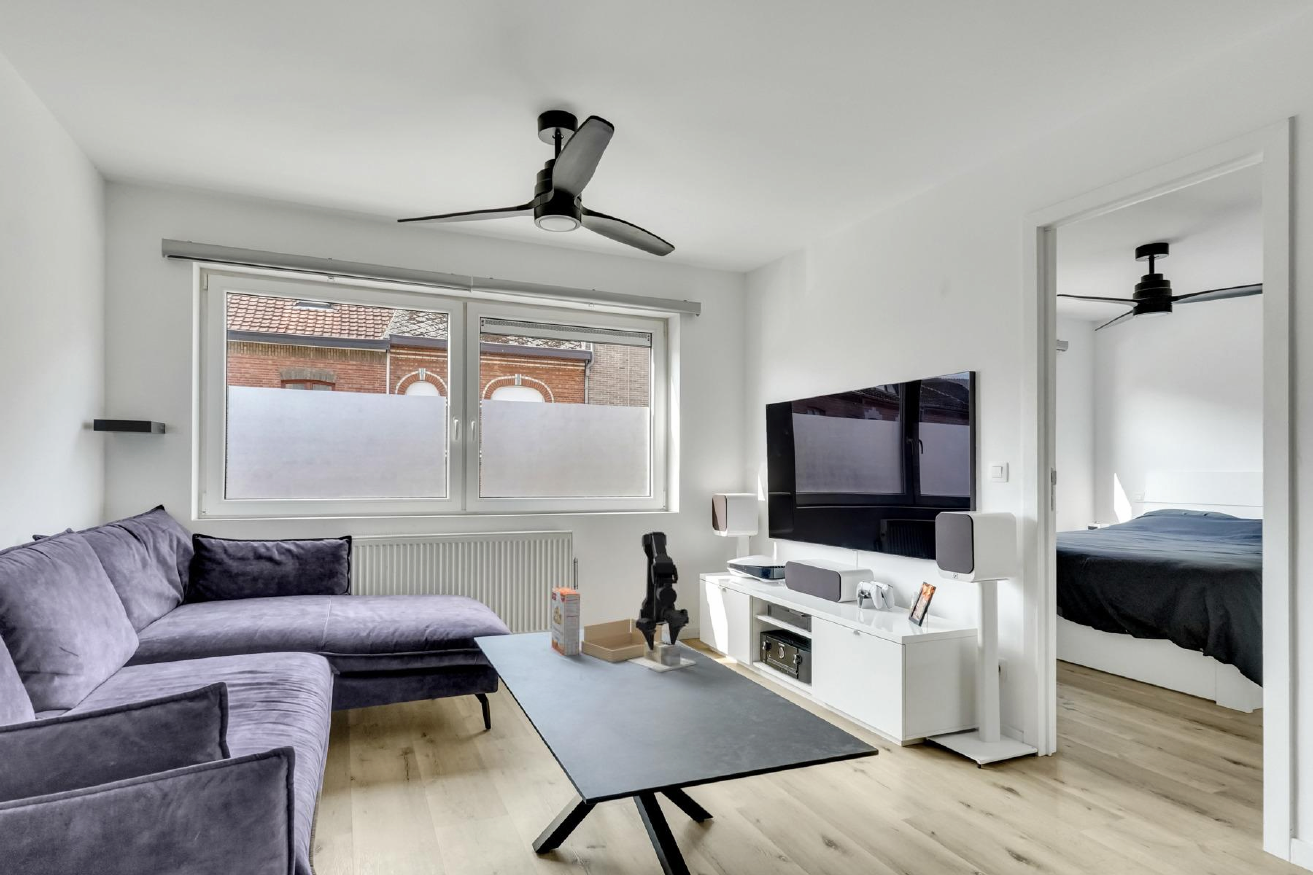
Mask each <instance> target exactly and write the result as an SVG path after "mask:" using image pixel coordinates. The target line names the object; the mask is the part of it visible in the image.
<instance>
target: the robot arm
mask: <svg viewBox="0 0 1313 875" xmlns="http://www.w3.org/2000/svg"><path fill="white" fill-rule="evenodd" d="M667 540H668V539H667V534H665V532H664V531H651V532H648V533H645V534H643V535H642V536H641V547H642V549H643V552H644V554H645V556H646V558H647V560H646V590H645V591H646V592H645V593H646V595H645V597H644V599H643V601H642V602H641V606H640V609H639V613H638V619H636V620H637V621H636V628H639V630H641V631H642V633H643V635H644V637H645V639H646V641H647V643H648V646H649V648H650V650H653V648H654V634H655V633H656V631H657V630H655V628H656V625H659V626H662V627H663V626H664V625H666V624H668V631H669V640H670V641H669V642H670V645H675V646H676V642H677V639H678V636H679V635H680V632H681V630H682V629H683V628H684V627H686V626H687V624H690V617H689V615H688V614H689V613H688V612H689V611H688V609H686V608H681V609H676V605H675V602H676V601H677V599H678V594H677V592H676V590H675V589H674V588H673V584H674V585H676V584H677V585H678V581H679V575H678V574H679V573H678V569H677V567H676V566H677V565H676V564H674V562H673V561H674V560H673V558H672V557H670V556H669V555H668V552H667Z"/></svg>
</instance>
